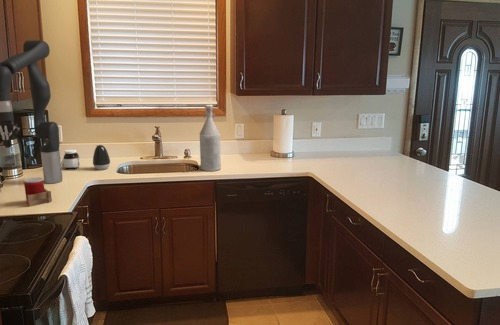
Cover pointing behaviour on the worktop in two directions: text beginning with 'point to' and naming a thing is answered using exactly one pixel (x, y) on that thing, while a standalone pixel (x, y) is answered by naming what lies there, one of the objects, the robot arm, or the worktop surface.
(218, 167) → the grey bottle
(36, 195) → the v-block stop
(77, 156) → the spread jar
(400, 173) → the worktop surface
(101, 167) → the black egg shaped device
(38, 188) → the canned food
